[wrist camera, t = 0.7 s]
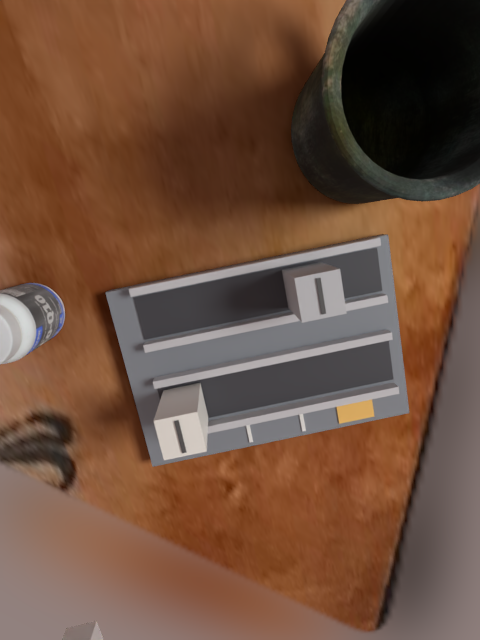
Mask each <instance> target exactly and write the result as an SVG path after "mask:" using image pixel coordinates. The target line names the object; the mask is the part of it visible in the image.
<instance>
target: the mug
mask: <svg viewBox="0 0 480 640" xmlns="http://www.w3.org/2000/svg"><path fill="white" fill-rule="evenodd" d="M291 136H292V145H293V150H294V154H295V157H296V160H297V163H298V165H299V167H300V169H301V171H302V172H303V174H304V176H305V177H306V178H307V179H308V181H309V182H310V183H311V184H312V185H313V186H314V187H315V188H316V189H317V190H318V191H320V192H321V193H323V194H324V195H326V196H327V197H330V198H332V199H334V200H337V201H340V202H344V203H353V204H358V203H368V202H374V201H380V200H387V199H393V198H402V199H406V200H414V201H433V200H441V199H445V198H449V197H453V196H456V195H458V194H461V193H463V192H465V191H468V190H470V189H472V188H473V187H475V186H477V185H478V184H480V0H346V2H345V4H344V5H343V7H342V9H341V11H340V13H339V14H338V16H337V18H336V20H335V22H334V25H333V28H332V30H331V33H330V35H329V38H328V42H327V46H326V50H325V53H324V55H323V57H322V58H321V60H320V61H319V63H318V65H317V66H316V68H315V69H314V71H313V73H312V74H311V76H310V77H309V79H308V81H307V82H306V84H305V86H304V87H303V89H302V91H301V93H300V95H299V97H298V99H297V102H296V105H295V108H294V112H293V117H292V126H291Z"/></svg>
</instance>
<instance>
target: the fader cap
mask: <svg viewBox="0 0 480 640" xmlns="http://www.w3.org/2000/svg"><path fill="white" fill-rule="evenodd" d="M154 425H155V429H156V432H157V436H158V440H159V444H160V447H161V451H162V455H163V459H164V460H169V459H173V458H178V457H183V456H188V455H193V454H197V453H202V452H207V435H208V414H207V409H206V405H205V401H204V396H203V392H202V388H201V383H196V384H192V385H187V386H182V387H177V388H172V389H168V390H163V393H162V396H161V399H160V402H159V405H158V409H157V412H156V415H155V418H154Z"/></svg>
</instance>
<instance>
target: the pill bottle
mask: <svg viewBox="0 0 480 640" xmlns="http://www.w3.org/2000/svg"><path fill="white" fill-rule="evenodd" d="M64 320H65V309H64V305H63V302H62V300H61V299H60V297H59V296H58V295H57V294H56V293H55V292H54V291H53V290H52V289H50V288H49V287H47V286H45V285H42V284H37V283H26V284H21V285H18V286H14V287H10V288H7V289H3V290H0V364H6V363H11V362H14V361H17V360H19V359H21V358H23V357H24V356H25V355H27V354H28V353H30V352H31V351H33V350H34V349H36V348H38V347H39V346H41V345H42V344H44V343H45V342H47V341H48V340H50V339H51V338H53V337H54V336H55V335H56V334H57V333H58V332H59V331H60V330H61V328H62V326H63V324H64Z"/></svg>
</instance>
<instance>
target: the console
mask: <svg viewBox="0 0 480 640" xmlns="http://www.w3.org/2000/svg"><path fill="white" fill-rule="evenodd" d="M106 297H107V301H108V304H109V308H110V312H111V315H112V319H113V323H114V326H115V330H116V334H117V337H118V341H119V345H120V348H121V352H122V356H123V359H124V363H125V367H126V370H127V374H128V378H129V381H130V385H131V389H132V392H133V396H134V400H135V403H136V407H137V411H138V415H139V418H140V422H141V426H142V429H143V433H144V437H145V440H146V444H147V448H148V451H149V455H150V459H151V462H152V466H158V465H163V464H168V463H173V462H177V461H182V460H187V459H192V458H196V457H201V456H206V455H211V454H216V453H220V452H225V451H230V450H235V449H239V448H244V447H249V446H254V445H258V444H263V443H268V442H273V441H278V440H282V439H287V438H292V437H297V436H301V435H306V434H311V433H316V432H320V431H325V430H330V429H335V428H340V427H344V426H349V425H354V424H359V423H363V422H368V421H373V420H378V419H383V418H387V417H392V416H397V415H402V414H406V413H409V406H408V398H407V389H406V381H405V373H404V364H403V356H402V347H401V339H400V331H399V322H398V314H397V305H396V297H395V289H394V280H393V272H392V263H391V255H390V247H389V238H388V235H384V234H382V235H377V236H372V237H367V238H362V239H357V240H352V241H347V242H343V243H338V244H333V245H328V246H323V247H318V248H313V249H308V250H304V251H299V252H294V253H289V254H284V255H279V256H274V257H269V258H264V259H260V260H255V261H250V262H245V263H240V264H235V265H230V266H225V267H221V268H216V269H211V270H206V271H201V272H196V273H191V274H186V275H182V276H177V277H172V278H167V279H162V280H157V281H152V282H147V283H142V284H138V285H133V286H128V287H123V288H118V289H113V290H109V291H107V292H106ZM196 383H201V388H202V392H203V396H204V401H205V405H206V409H207V414H208V435H207V452H202V453H197V454H193V455H188V456H183V457H178V458H173V459H169V460H164V459H163V455H162V451H161V447H160V444H159V440H158V436H157V432H156V429H155V425H154V418H155V415H156V412H157V409H158V405H159V402H160V399H161V396H162V393H163V390H168V389H172V388H177V387H182V386H187V385H192V384H196Z"/></svg>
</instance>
